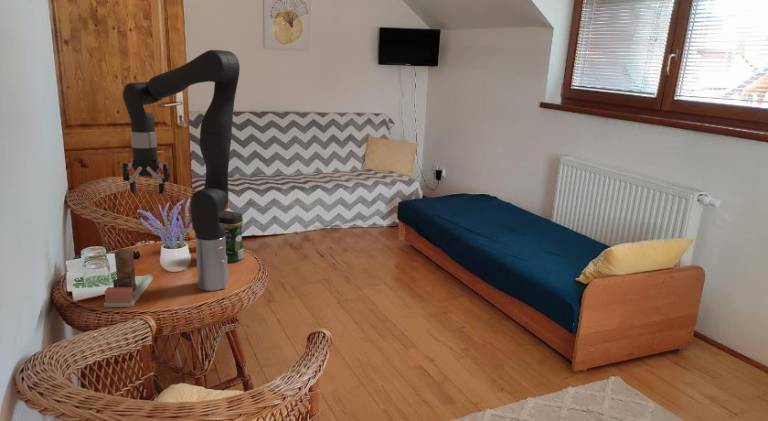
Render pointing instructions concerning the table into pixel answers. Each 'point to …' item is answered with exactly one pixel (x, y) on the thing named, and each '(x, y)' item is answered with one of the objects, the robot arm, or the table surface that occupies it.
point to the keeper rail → (137, 280)
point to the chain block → (124, 269)
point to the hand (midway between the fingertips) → (147, 193)
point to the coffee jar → (232, 234)
